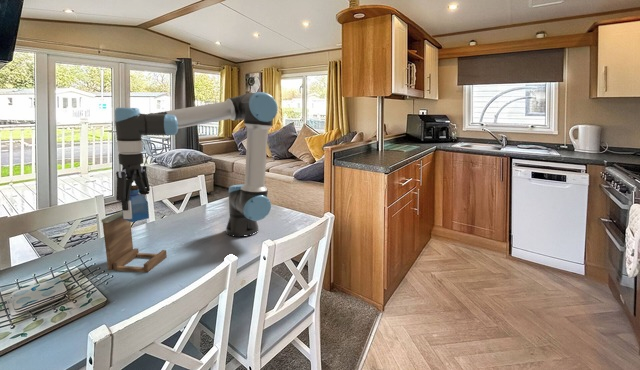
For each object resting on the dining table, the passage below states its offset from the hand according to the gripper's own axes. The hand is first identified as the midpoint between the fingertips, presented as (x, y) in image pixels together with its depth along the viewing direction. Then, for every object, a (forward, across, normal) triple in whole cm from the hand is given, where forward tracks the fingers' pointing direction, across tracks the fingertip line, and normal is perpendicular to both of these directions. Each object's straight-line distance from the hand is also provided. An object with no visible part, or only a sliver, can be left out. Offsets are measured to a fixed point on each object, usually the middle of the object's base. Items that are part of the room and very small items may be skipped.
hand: (135, 214), depth 122 cm
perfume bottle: (+2, 0, 0) cm, 2 cm away
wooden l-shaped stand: (+19, 0, -1) cm, 19 cm away
